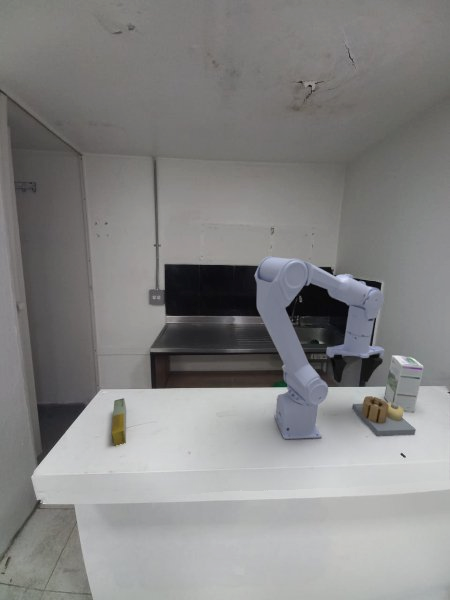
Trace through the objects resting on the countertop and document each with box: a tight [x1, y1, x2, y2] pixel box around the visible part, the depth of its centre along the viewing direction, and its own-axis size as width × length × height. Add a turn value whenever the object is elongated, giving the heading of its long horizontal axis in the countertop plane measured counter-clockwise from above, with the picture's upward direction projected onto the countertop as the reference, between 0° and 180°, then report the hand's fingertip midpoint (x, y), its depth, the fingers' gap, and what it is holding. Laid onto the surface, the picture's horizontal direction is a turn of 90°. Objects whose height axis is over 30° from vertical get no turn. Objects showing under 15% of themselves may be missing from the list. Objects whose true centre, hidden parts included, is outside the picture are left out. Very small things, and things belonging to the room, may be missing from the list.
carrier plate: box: [351, 401, 417, 437], centre depth 62 cm, size 10×10×5 cm
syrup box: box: [383, 354, 425, 413], centre depth 67 cm, size 6×6×14 cm
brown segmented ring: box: [362, 395, 389, 424], centre depth 61 cm, size 5×5×4 cm
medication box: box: [111, 397, 127, 447], centre depth 58 cm, size 12×3×4 cm, turn 22°
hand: (350, 380), depth 62 cm, fingers open, 7 cm apart
